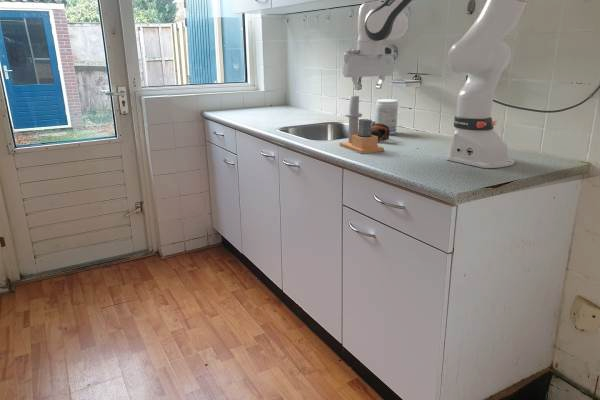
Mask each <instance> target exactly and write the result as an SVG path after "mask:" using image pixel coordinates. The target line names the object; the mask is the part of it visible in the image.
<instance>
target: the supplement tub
mask: <svg viewBox="0 0 600 400" xmlns="http://www.w3.org/2000/svg"><path fill="white" fill-rule="evenodd" d="M398 101H399V100H397V99H394V98H390V99H389V98H386V99H385V98H384V99H383V98H381V99H380V98H379V99H377V100H376V102H375V104H376V105H375V122H374V124H375V123H379V124H384V125H386V126H388V127H389V130H390V133H389V136H390V135H391V136H392V135H395V134H396V133H397V126H398V125H397V124H398V123H397V122H398V110H399V109H398V106H399V103H398Z"/></svg>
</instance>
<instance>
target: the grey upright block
mask: <svg viewBox="0 0 600 400" xmlns="http://www.w3.org/2000/svg"><path fill="white" fill-rule="evenodd" d="M372 124H373V120H372V119H368V118H363V119H358V136H359V137H362V138H364V137H371V129H372Z"/></svg>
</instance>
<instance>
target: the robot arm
mask: <svg viewBox="0 0 600 400" xmlns="http://www.w3.org/2000/svg"><path fill="white" fill-rule="evenodd" d="M413 2H414V0H384V1H383V2H382V1H381V0H369V1H366V2H363V3H362V4H361V5H360V7H359V10H358V15H357V33H358V37H357V44H356V47H357V50H356V49H355V50H347V52H345V53H344V56H343V57H344V59H343V60H344V62H343V68H342V74H343V76H344V77H345V78H351V81H352V83H353V85H354V90H355V91H361V84H359V83H358V81H359V78H366V77H378V79H379V81H377V82H378V83H375V89H377V90H379V89H380V90H381V89H383V83H384V81H385V79H386V76H393V74H394V72H395V58H394V56H393V55H394V54H395V53H394V52H395V50H394V48H392V47H390V46H387V45H384V44H383V41H386V40H387V41H391V40H399V39H401V38H403V37H404V36H405V35H406V34H407V32H408V31H409V28H410V20H409V16H408V15H407V14H406V13H405V12H404V11H405V10H406V9H407V7H409V5H411V4H412V3H413ZM528 2H529V0H486V1H485V3H484V5H483V7H482V9H481V10H480V13H479V15H478V16H477V18H476V19H475V21H474V23H473V24H472V25H471V26H470V28H469V29H468V30H467V31H466V32H465V34H464V35H463V36H462V37H461V39H459V40H458V41H457V42H455V43H454V44H453V45H452V46H451V47H450V48H449V49H448V51H447V56H446V62H447V65H448V68H449V69H450V70H451V71H452V72H454V73H456V74H460V75H463V76H467V79H466V81H465V83H464V85H463V87H461V89H460V90H459V92H458V94H457V102H456V103H457V104H456V113H455V116H454V117H453V118H454V120H453V127H454V129H453V132H452V137H451V140H450V146H449V149H448V153H447V155H446V160H447V161H450V162H454V163H458V164H459V163H461V164H465V165H470V166H474V167H478V168H482V169H494V168H495V169H498V168H504V167H505V168H506V167H509V166H512V165H514V164H515V160H514V159H511V158H510V157H509V158H508V156H509V155H508V151H509V149H508V145H507V143H506V142H505V141H504V140H503V139H502V138H501V137H500V136H499V134H498V133H497V132H496V130H494V129H495V128H494V126H496V125H497V122H498V121H497V120H494V121H493V119H492V116H491V115H492V108H493V104H494V103H493V101H494V96H495V92H496V88H497V85H498V83H499V81H500V78H501V75H502V73H503V71H504V70H505V68H506V67H507V66H508V65H509V64H510V62H511V58H512V50H511V47H510V46H509V44H507V43H506V42H504V41H502V39H504V38H505V36H506V35H507V34H508V33H509V32H511V31H512V30H513V29H514V28H515V27H516V25H517V23H518V21H519V19H520V17H522V14H523V11H524V9H525V7H526V5H527V3H528Z"/></svg>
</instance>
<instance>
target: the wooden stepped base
mask: <svg viewBox="0 0 600 400" xmlns="http://www.w3.org/2000/svg"><path fill="white" fill-rule="evenodd" d="M359 103H360V96H359V95H349V108H348V113H347V112H346V113H345V117H347V118H348V141H343V142H342V141H341V142H339V146H340V147H342V148H344V149H345V148H346V150H347V149H348V150H351V151H353V152H355V151H356V152H355V153H358V154H361V153H362V154H369V153H370V154H371V153H377V152H384V151H385V148H384V147H383V146H380V145H378V144H379V143H378V136H374V135H371V137H364V138H362V137H359V136H358V132H359V118H361V117H363V113H360V112H359V111H360V110H359V109H360V107H359V106H360V105H359Z"/></svg>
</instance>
